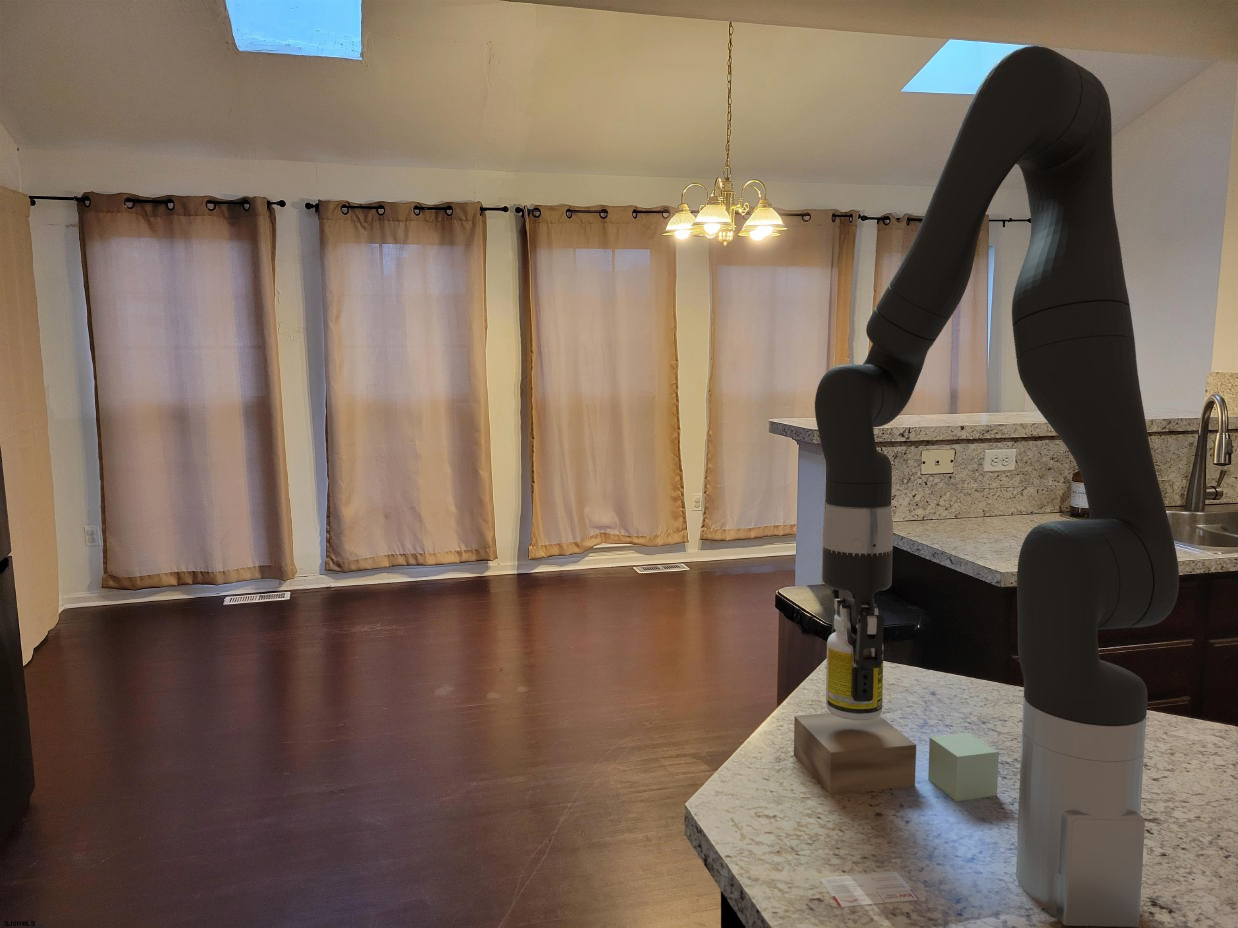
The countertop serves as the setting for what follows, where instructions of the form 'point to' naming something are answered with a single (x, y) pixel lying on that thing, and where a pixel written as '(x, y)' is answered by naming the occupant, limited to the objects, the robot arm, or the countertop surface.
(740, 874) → the countertop surface
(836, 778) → the walnut block
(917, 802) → the countertop surface
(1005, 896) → the countertop surface
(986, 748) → the sage cube
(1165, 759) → the countertop surface
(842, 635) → the pill bottle
